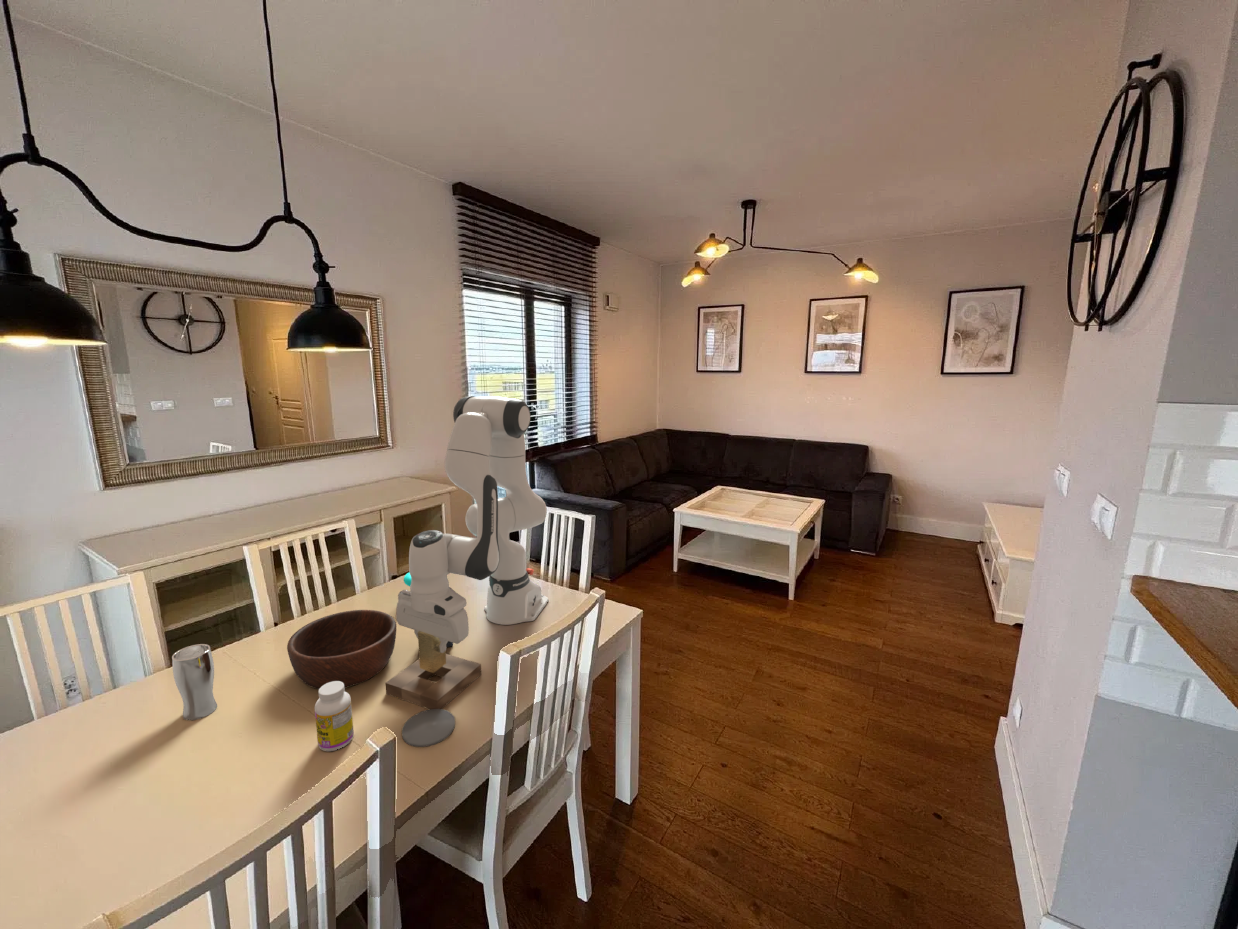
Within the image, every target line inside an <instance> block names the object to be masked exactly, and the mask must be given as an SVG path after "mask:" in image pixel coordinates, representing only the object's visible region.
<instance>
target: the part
mask: <svg viewBox="0 0 1238 929" xmlns="http://www.w3.org/2000/svg"><path fill="white" fill-rule="evenodd" d="M417 640H418V656H419V657H418V660H419V662H420V668H421V669H423V670H426V671H429V672H432V673H434V672H436V671H437V670H438V669H440V668H441V667H442V666H443V665H445V664H446V654H447V653H446V652H447V650H446V651H444V652H443V653H440V652H438V651H437V645H438V644H440V643H441V641H439V638H437V637H434V636H433V635H430V634H427V633H424V632H421V631H419V632H418V638H417Z"/></svg>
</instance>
